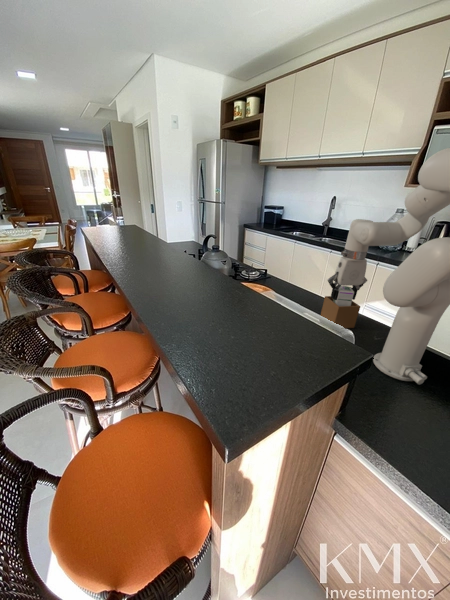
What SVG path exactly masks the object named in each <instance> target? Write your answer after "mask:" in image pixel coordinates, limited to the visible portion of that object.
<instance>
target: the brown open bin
mask: <svg viewBox="0 0 450 600" xmlns="http://www.w3.org/2000/svg"><path fill="white" fill-rule="evenodd" d="M360 310H361V305H359V304H358V303H356V302H355V301H354V300H352V303H351V306H338V305H337V304H336V303H334V302H333V298H331V295H325V296H324V299H323V302H322V307H321V310H320V311H321V312H320V315H321V316H323V317H325V318H327V319H328V320H330V321H333V322H334V323H336V324H339V325H341V326H343V327H344V328H343V329H354V328H355V326H356V323H357V319H358V316H359V313H360Z"/></svg>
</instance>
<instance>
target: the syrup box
mask: <svg viewBox="0 0 450 600" xmlns="http://www.w3.org/2000/svg"><path fill="white" fill-rule="evenodd" d="M352 288H353V287H351V286H343V285H341V286H340V288H339V289H338V291H339V293H338V297H337V300H334V299H333V302H334V303H336V304H337V305H338V306H351V303H352V301H353V295H354V291H353V290H352Z"/></svg>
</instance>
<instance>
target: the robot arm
mask: <svg viewBox="0 0 450 600" xmlns="http://www.w3.org/2000/svg"><path fill="white" fill-rule="evenodd" d="M417 182H418V183H419V185H417V186H416V187H415V188H413V190H411V191H409V192H408V193H407V195H406V196H405V198H404V206H405V209H406V211H407V213H406V214H405V215H404V216H402V217H401V218H399V219H398V220H396V221H394V222H392V221H373V220H370V219H364V218H363V219H361V218H356V219H353V220H352V221H351V223H350V226H349V230H348V233H347V238H346V241H345V246H344V249H343V251H340V255H341V257H340V259H339V261H338V262H337V266H336V268H335V271H334V274H333V275H331V276H329V278H327V282H328V284H329V286H330V287H331V293H330V296H331V298H333V299H334V300H337V297H338V293H339V291H338V289H339V288H340V286H348V287H350V286H352V287H351V288H352V290H353V291H354V295H353V299H352V301H354V300H356V297H357V294H358V291H360V290H361V288H362V287H363V286H364V285H365V284H366V283H367V282H368V279H367V278H366V272H367V265H368V260H367V258H366V257H367V254H368V251H369V247H390V246H391V247H393V246H397V245H399V244H402V243H404V242H406V241H407V240H409V239H411V238H412V237H414V236H415V235H417V234H418V233H420V232H421V231H422V230H423V228H425V226H426V225H427V223H428V222H429V219H430V218H431V217H432V216H434V215H435V214H437V213H439V212H440V211H441V210H443V209H445V208H447V207H448V206H450V147H446V148H444V149H441V150H439V151H437V152H435V153H433V154H432V155H431V156H429V157H428V158H426V160H425V161H424V162H423V164H422V165H421V167H420V169H419V171H418V175H417ZM382 294H383V298H384V299H385V300H386V301H385V302H387V303H388V304H389V305H392V306H394V307H397V308H398V310H397V312H396V314H395V316H394V319H393V321H392V323H391V324H392V325H391V327H390V330H389V331H388V335H387V337H386V339H385V343H384V345H383V347H382V350H381V352H378V353H376V354H374V356H373V358H374V359H373V358H372V362H373V364H374V365H375V367H376V368H377V369H378V370H379V371H380V372H382V373H383V374H385V375H387V376H389V377H391V378H393V379H395V380H399V381H402V382H403V381H404V382H415V383H416V384H417V385H422V384H423V383H424V382H425V381H426V380H427V379H428V376H427V375H426V374H425V373H423V372H422V371H421V369H422V367H423V365H422V364H421V363H420V362H421V360H422V358H423V356H424V354H425V352H426V349H427V347H428V345H429V342H430V341H431V339H432V336H433V334H434V332H435V330H436V328H437V326H438V324H439V322H440V321H441V320H440V319H441V318H442V316H443V315H444V313H445V312H446V310H447V309H448V308H449V306H450V236H447V237H445V236H444V237H436V238H433V239H430V240H427V241H425V242H424V243H422V244H420V245H419V246H418V247H417V248H416V249H415V250H413V251H412V252H411V253H410V254H409V255H408V256H407V257H406V258H405V259H404V260H403V261H402V262H401V263H400V264H399V265H398V266H397V267H396V268H395V269H394V270H393V271H392V272H391V273H390V275H389V276H387V278H386V280H385V281H384V284H383V287H382Z"/></svg>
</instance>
